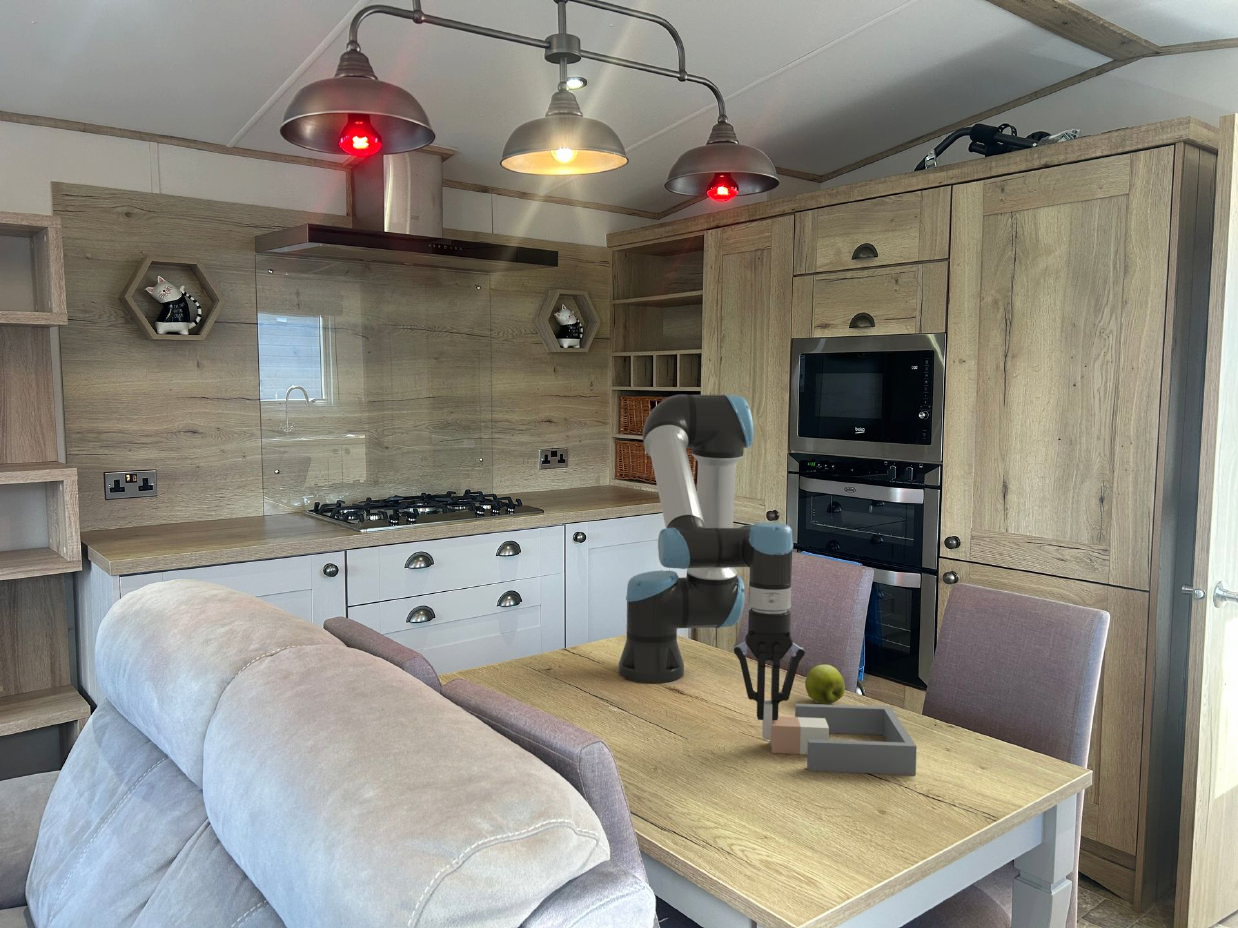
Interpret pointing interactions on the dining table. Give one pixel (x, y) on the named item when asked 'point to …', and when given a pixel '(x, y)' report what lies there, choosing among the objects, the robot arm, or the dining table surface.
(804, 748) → the tile
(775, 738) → the tile
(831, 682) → the apple
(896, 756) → the box
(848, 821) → the dining table surface
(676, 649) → the robot arm
